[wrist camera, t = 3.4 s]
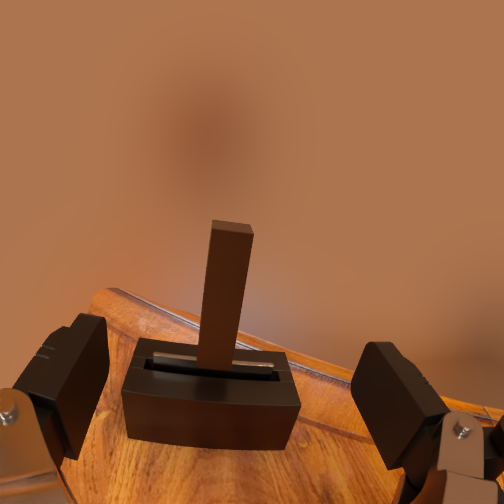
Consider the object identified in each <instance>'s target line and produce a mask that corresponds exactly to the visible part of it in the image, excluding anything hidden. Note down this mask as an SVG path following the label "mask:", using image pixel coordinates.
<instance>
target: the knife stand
mask: <svg viewBox="0 0 504 504" xmlns="http://www.w3.org/2000/svg"><path fill="white" fill-rule="evenodd" d="M154 352H161V353H168V354H176V355H184V356H193V357H197V352H198V345H192V344H184V343H175V342H168V341H160V340H153V339H146V338H139V340H138V342H137V345H136V348H135V351H134V354H133V357H132V360H131V363H130V365H129V368H128V371H127V374H126V377H125V380H124V383H123V386H122V389H121V393H122V401H123V409H124V416H125V422H126V429H127V435H128V438H132V439H137V440H143V441H150V442H156V443H163V444H171V445H180V446H189V447H200V448H213V449H232V450H284V449H285V446H286V444H287V442H288V439H289V437H290V434H291V432H292V429H293V426H294V424H295V421H296V419H297V416H298V413H299V411H300V408H301V402H300V399H299V396H298V393H297V389H296V386H295V383H294V380H293V377H292V373H291V370H290V367H289V364H288V361H287V358H286V354H285V352H273V351H258V350H244V349H235V350H234V356H233V360H234V361H248V362H264V363H273V370H272V374H271V378H270V381H253V380H237V379H224V378H212V377H202V376H192V375H183V374H175V373H167V372H160V371H153V353H154Z"/></svg>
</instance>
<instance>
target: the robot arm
mask: <svg viewBox="0 0 504 504" xmlns="http://www.w3.org/2000/svg"><path fill="white" fill-rule="evenodd" d="M109 366H110V359H109V349H108V337H107V324H106V319H105V318H104V317H101V316H95V315H89V314H84V313H80V314H79V315H78V316H77V318H76V319H75V320H74V322H73V323H72V325H71V326H70V327H65V326H62V327H61V328H59V329H58V330H56V331H54V332H53V333H51V334H50V335H49V336H48V338H47V339H46V340H45V342H44V343H43V344H42V347H40V348H39V350H38V351H37V353H36V356H34V357H33V358H32V360H31V361H30V362H29V364H28V365H27V367H26V368H25V370H24V371H23V372H22V374H21V375H20V377H19V378H18V380H17V381H16V383H15V384H14V386H13V387H12V388H3V389H0V504H78V503H77V501H76V499H75V497H74V495H73V493H72V491H71V489H70V487H69V485H68V483H67V481H66V479H65V477H64V475H63V472H62V470H61V468H60V467H61V464H62V462H63V459H64V457H66V458H70V459H73V460H78V457H79V454H80V451H81V448H82V445H83V442H84V439H85V437H86V434H87V431H88V428H89V425H90V423H91V420H92V417H93V414H94V412H95V409H96V406H97V404H98V401H99V398H100V396H101V393H102V391H103V388H104V386H105V383H106V381H107V378H108V374H109ZM428 383H429V382H428V381H427V380H426V379H425V377H422V373H421V372H420V371H419V370H418V368H417V367H416V366H415V365H414V364H413V363H412V362H410V361H409V360H407V359H406V358H404V357H403V356H402V355H401V353H400V352H399V351H398V349H397V348H396V347H395V346H394V344H393V343H391V342H369V343H367V344H366V346H365V348H364V351H363V353H362V356H361V358H360V361H359V363H358V366H357V368H356V371H355V373H354V375H353V378H352V381H351V394H352V397H353V399H354V401H355V403H356V405H357V407H358V410H359V412H360V414H361V416H362V418H363V420H364V422H365V424H366V426H367V428H368V430H369V432H370V434H371V436H372V438H373V440H374V442H375V444H376V447H377V449H378V451H379V453H380V455H381V457H382V459H383V461H384V463H385V465H386V468H387V470H392V469H397V468H401V467H403V469H404V472H403V474H402V475H401V476H400V479H399V482H398V485H397V488H396V491H395V494H394V498H393V500H392V503H391V504H504V492H503V490H502V489H501V487H500V485H499V483H498V482H497V480H496V479H497V478H498V476H499V475H500V474H501V473H502V472H503V471H504V415H503V416H502V418H501V419H500V420H499V422H498V423H497V425H496V426H495V427H482V426H481V425H480V423H479V422H478V421H477V420H476V419H475V418H474V417H473V416H471V415H469V414H467V413H465V412H461V411H453V412H451V411H450V410H449V409H448V407H447V406H446V405H445V403H444V402H443V401H442V399H441V398H440V397H439V395H438V394H437V393H436V392H435V390H434V389H433V388H432V386H431V385H429V384H428Z"/></svg>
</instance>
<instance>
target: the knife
mask: <svg viewBox="0 0 504 504" xmlns="http://www.w3.org/2000/svg"><path fill="white" fill-rule="evenodd" d="M253 236H254V233H253V231H252V228H251V226H250V225H249V224H241V223H233V222H226V221H218V220H213V221H212V227H211V236H210V242H209V250H208V259H207V267H206V275H205V284H204V293H203V302H202V312H201V321H200V331H199V341H198V352H197V357H193V356H184V355H176V354H168V353H161V352H154V353H153V371H160V372H167V373H175V374H183V375H192V376H202V377H212V378H224V379H237V380H253V381H270V378H271V374H272V370H273V363H264V362H248V361H234V360H233V356H234V350H235V344H236V338H237V332H238V325H239V320H240V313H241V308H242V302H243V296H244V289H245V284H246V278H247V272H248V266H249V260H250V254H251V248H252V242H253Z"/></svg>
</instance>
